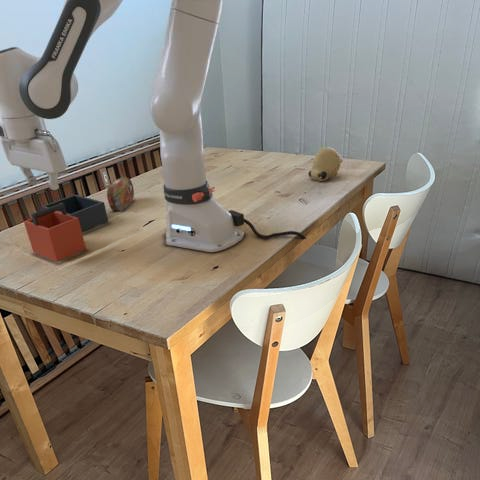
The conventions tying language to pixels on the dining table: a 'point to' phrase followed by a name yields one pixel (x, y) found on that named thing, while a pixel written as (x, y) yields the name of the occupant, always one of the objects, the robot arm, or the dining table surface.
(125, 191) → the tin
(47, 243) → the terracotta bin
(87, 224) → the slate bin
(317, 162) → the beige plush toy
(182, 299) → the dining table surface
